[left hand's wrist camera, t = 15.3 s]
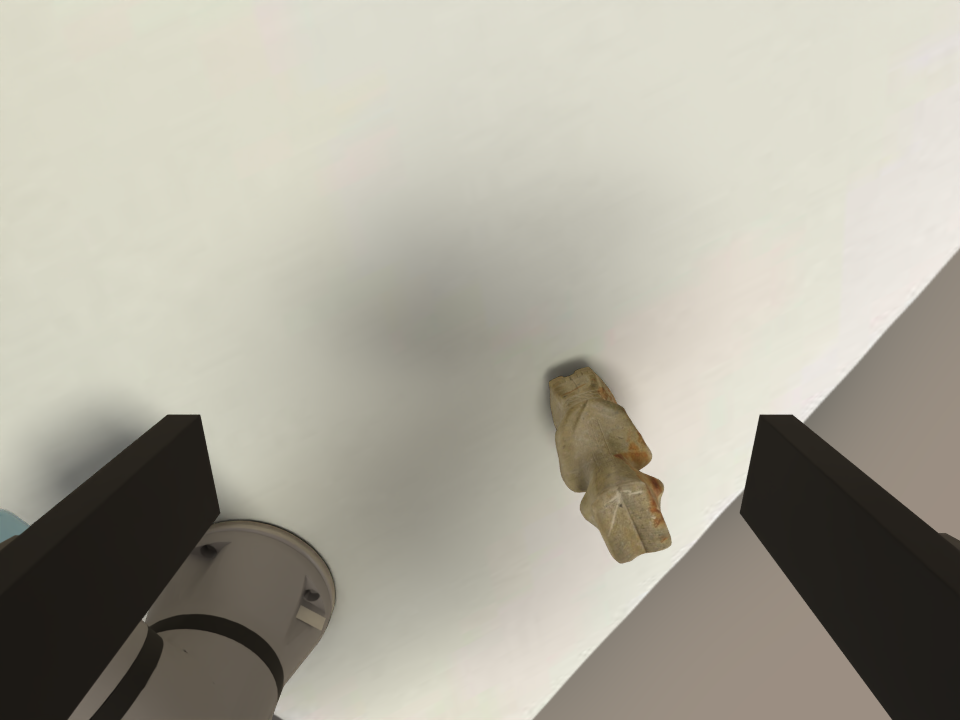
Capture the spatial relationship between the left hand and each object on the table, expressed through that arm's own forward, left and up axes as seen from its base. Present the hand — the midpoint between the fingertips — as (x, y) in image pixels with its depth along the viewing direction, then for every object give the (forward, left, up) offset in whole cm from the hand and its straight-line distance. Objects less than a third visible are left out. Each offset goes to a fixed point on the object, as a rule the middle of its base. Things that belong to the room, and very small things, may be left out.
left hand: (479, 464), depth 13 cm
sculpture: (-6, -12, -28) cm, 31 cm away
